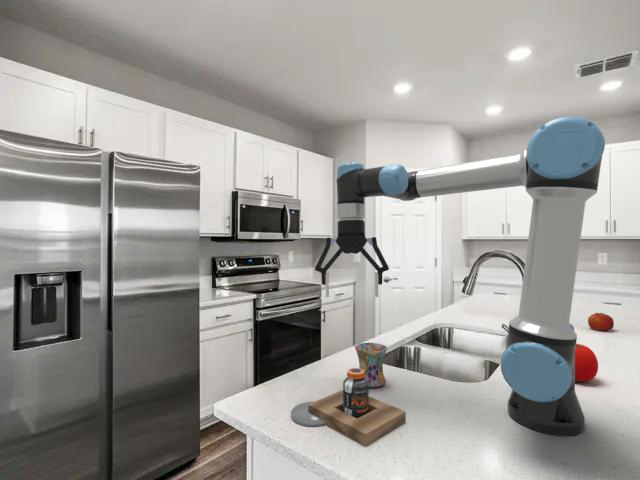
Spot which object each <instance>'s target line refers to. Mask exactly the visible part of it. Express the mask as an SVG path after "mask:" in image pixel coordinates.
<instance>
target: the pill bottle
mask: <svg viewBox="0 0 640 480" xmlns="http://www.w3.org/2000/svg"><path fill="white" fill-rule="evenodd" d="M346 376H347V377H346V378H345V379H344V380H343V382H342V386H343V387H342V390H343V412H344V413H346V414H348V415H351V416H353V417H355V418H359V417H361V416H363V415H365V414H367V413H368V406H369V397H370V395H369V389H370V387H369V384H368V381H367V380H366V379H365V378H364V370H362V369H359V368H358V367H352V368H351V367H350V368H349V369H347V372H346Z"/></svg>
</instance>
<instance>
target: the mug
mask: <svg viewBox="0 0 640 480" xmlns="http://www.w3.org/2000/svg"><path fill="white" fill-rule="evenodd" d="M354 349H355V352H356V355H357V359H358V363H359V366H358V367H359V369H362V370H364V378H365V379H366V380H367V381H368V384H369V388H379V387H382V386H384V385H385V384H386V382H387V380H386V378H385V377H386V376H385V375H384V371H383V369H384V367H383V366H384V364H383V363H384V358H385V354H386V353H387V350H388V347H387V346H386V345H384V344H382V343H379V342H360V343H358V344H355V346H354Z"/></svg>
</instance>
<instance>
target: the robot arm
mask: <svg viewBox="0 0 640 480" xmlns="http://www.w3.org/2000/svg"><path fill="white" fill-rule="evenodd" d="M605 141H606V140H605V137H604V135H603V132H602V131H601V129H600V128H599V127H598V126H597V124H595V123H594V122H593V121H591V120H590V119H587V118H584V117H581V116H573V115H572V116H568V115H567V116H562V117H558V118H554V119H552V120H549V121H548V122H546V123H545V124H543V125H542V126H540V127H539V128H538V129H537V130H535V132H534V133H533V134H532V136H531V137H530V138H529V141H528V143H527V146H526V148H524V149H523V151H522V152H521V153H518V154H511V155H505V156H499V157H493V158H487V159H481V160H476V161H470V162H464V163H457V164H451V165H447V166H446V165H445V166H438V167H433V168H426V169H421V170H417V171H416V170H415V171H411V172H408V171H407V169H406V168H405V166H403V165H402V164H387V165H384V166H378V167H371V168H365V166H364V164H363V163H360V162H343V163H340V165H338V167H337V171H336V188H337V189H336V190H337V191H336V192H337V193H336V194H337V203H336V206H337V207H336V208H337V209H336V210H337V211H336V214H337V217H336V218H337V219H338V221H337V237H336V238H331V237H327V238H326V241H325V242H326V243H325V247H324V249H323V251H322V253H321V255H320V257H319V259H318V261H317V262H316V265H315V267H314V271H315V272H319V273H320V274H321V284H322V285H323V286H325V298H329V297H330V277H329V276H330V272H327V271H328V270H329V268H330V267H332V266H333V264H334V263H335V262H336V261H337V259H338V258H339V257H340V256H341V254H343V253H344V254H345V255H346V254H347V255H348V254H355V255H356V254H357V255H358V254H359V253H361V254H362V255H363V256H364V257H365V259H366V260H367V262H369V264H370V265H372V267H373V268H374V269H375V270H376V271H377V272H374V296H375V298H379V297H380V296H379V295H380V294H379V293H380V292H379V285H383V273H385V272H386V271H389V270H390V266H389V265H388V263H387V261H386V259H385V257H384V255H383V253H382V251H381V250H380V247H379V246H378V242H377V241H378V240H377V237H375V236H373V237H367V238H366V232H365V231H366V229H365V227H366V225H365V223H366V222H365V221H364V219H365V217H366V216H365V215H366V214H365V211H366V210H365V198H372V197H386V198H391V199H397V200H400V201H403V202H410V201H414V200H416V199H420V198H426V197H427V198H428V197H436V196H444V195H454V194H462V193H463V194H464V193H472V192H478V191H479V192H480V191H489V190H497V189H506V188H515V187H525V192H526V193H527V194H528V195H529V197H531V199H532V207H531V215H530V220H529V221H530V222H529V223H530V224H529V228H528V229H529V231H528V238H527V246H526V253H525V261H524V262H525V263H524V269H523V278H522V286H521V292H520V293H521V294H520V295H521V296H520V301H519V310H518V315H517V316H515V317H514V318H512V319H511V320H509V323H508V329H507V330H508V331H507V339H506V345H505V349H504V351H503V352H502V354H501V356H500V371H501V374H502V377H503V379H504V381H505V382H506V383H507V385H508V386H509V388H511V393H510V395H509V398H508V401H507V413H508V415H509V416H510V418H512V419H513V420H514V421H516V422H517V423H518V424H520V425H522V426H524V427H526V428H528V429H531V430H535V431H538V432H540V433H544V434H550V435H556V436H575V435H579V434H581V433H583V432H585V429H586V428H585V427H586V422H585V421H586V420H585V414H584V412H583V410H582V406H581V404H580V401H579V397H578V395H577V392H576V381H575V348H576V344H577V339H578V334H577V333H576V332H575V328H574V326H573V324H571V323H570V320H571V311H572V305H573V296H574V288H575V282H576V275H577V268H578V267H577V266H578V260H579V253H580V252H579V251H580V244H581V237H582V231H583V223H584V217H585V210H586V209H585V207H586V202H587V201H588V200H589V199H591V198H592V197H593V196H595V195H596V194H597V193H598V187H599V180H600V173H601V166H602V160H603V154H604V152H605V146H606V143H605ZM335 243H336V244H337V246H338V247H339V249H338V250H337V251H336V252H335V253H334V255H333V256H332V257H331V258H330V259H329V261H327V263H326V264H325V266H324V267H322V265H323V263H324V261H325V259H326V257H327V255H328V252H329V250H330V248H331V247H332V246H334V244H335ZM367 243H368V244H369V245H370V246H371V247H372V249H373V251H374V252H375V255H376V256H377V258H378V260H379V262H380V264H381V266H380V265H379V264H378V263H377V262H376V261H375V260H374V259H373V257H372V256H371V255H370V254H369V253H368V252H367V250H366V249H365V248H364V246H365V245H366V244H367Z"/></svg>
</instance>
